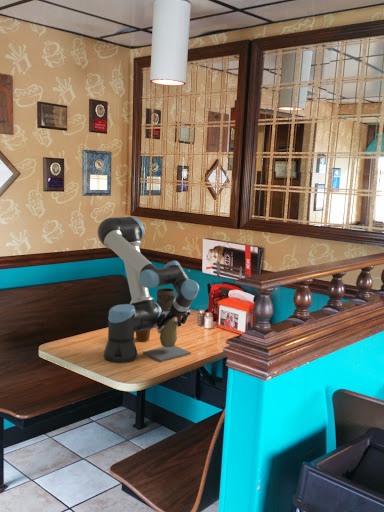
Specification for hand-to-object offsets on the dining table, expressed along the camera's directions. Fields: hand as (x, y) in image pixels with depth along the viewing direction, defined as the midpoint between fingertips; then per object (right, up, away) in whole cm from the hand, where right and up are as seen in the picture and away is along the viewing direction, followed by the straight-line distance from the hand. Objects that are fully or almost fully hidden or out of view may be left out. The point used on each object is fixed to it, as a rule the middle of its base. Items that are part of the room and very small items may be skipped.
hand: (165, 330), depth 251 cm
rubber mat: (+1, -11, -3) cm, 11 cm away
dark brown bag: (-1, -4, +42) cm, 42 cm away
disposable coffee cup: (-12, -7, +16) cm, 21 cm away
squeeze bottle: (+1, -7, -2) cm, 8 cm away
